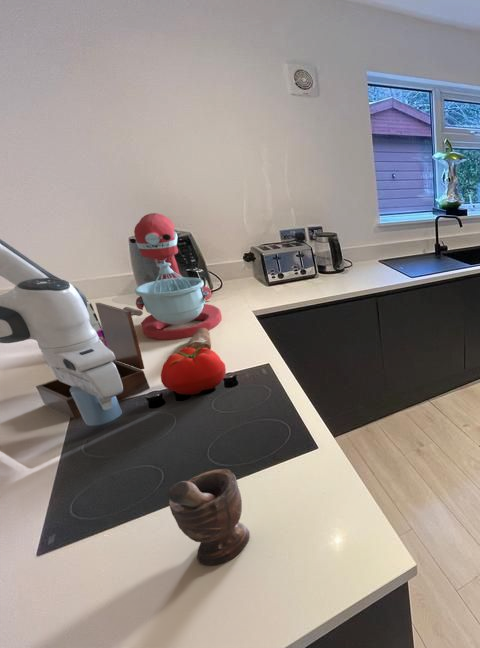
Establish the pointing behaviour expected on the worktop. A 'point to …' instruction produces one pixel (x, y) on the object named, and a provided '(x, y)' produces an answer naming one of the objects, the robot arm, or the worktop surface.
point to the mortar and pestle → (210, 515)
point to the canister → (94, 408)
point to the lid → (121, 333)
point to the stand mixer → (170, 285)
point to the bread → (200, 339)
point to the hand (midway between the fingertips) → (98, 404)
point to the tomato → (192, 371)
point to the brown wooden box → (62, 400)
